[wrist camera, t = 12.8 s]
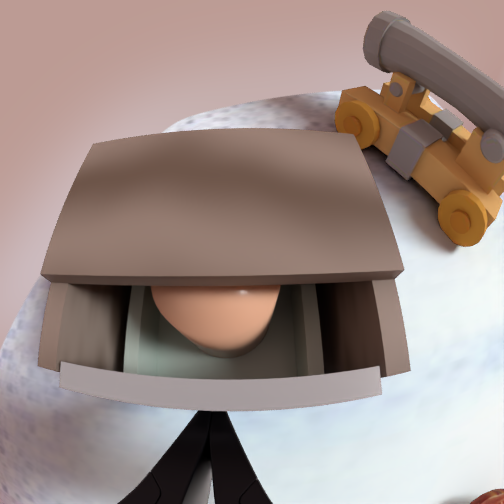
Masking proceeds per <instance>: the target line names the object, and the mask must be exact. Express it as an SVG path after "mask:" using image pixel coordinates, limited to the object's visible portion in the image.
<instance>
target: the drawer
mask: <svg viewBox="0 0 504 504" xmlns="http://www.w3.org/2000/svg"><path fill="white" fill-rule="evenodd" d="M59 387H60V388H63V389H67V390H71V391H75V392H78V393H82V394H87V395H91V396H95V397H100V398H105V399H110V400H115V401H121V402H126V403H133V404H139V405H146V406H154V407H163V408H173V409H186V410H203V411H264V410H281V409H293V408H304V407H313V406H321V405H328V404H335V403H341V402H347V401H353V400H358V399H363V398H368V397H373V396H377V395H382V389H381V377H380V367H379V366H376V367H370V368H365V369H359V370H352V371H345V372H338V373H330V374H324V363H323V351H322V341H321V331H320V321H319V312H318V303H317V295H316V287H315V284H289V285H281V286H280V290H279V294H278V297H277V301H276V304H275V308H274V311H273V315H272V318H271V322H270V325H269V328H268V331H267V333H266V336H265V337H264V339H263V340H262V342H261V343H260V344H259V345H258V346H257V347H256V348H255V349H253V350H252V351H250V352H249V353H247V354H245V355H242V356H239V357H234V358H218V357H214V356H211V355H208V354H206V353H204V352H203V351H201V350H200V349H198V348H197V347H196V346H195V345H194V344H193V343H191V342H190V341H189V340H188V339H187V338H186V337H185V336H184V335H183V334H181V333H180V332H179V331H178V330H177V329H176V328H175V327H174V326H173V325H172V324H171V323H170V322H169V321H168V320H167V319H166V318H165V317H164V316H163V315H162V314H161V312H160V311H159V309H158V307H157V306H156V304H155V301H154V298H153V296H152V291H151V286H135V285H132V289H131V297H130V304H129V312H128V321H127V331H126V341H125V354H124V371H123V372H116V371H109V370H103V369H97V368H92V367H86V366H81V365H76V364H71V363H67V362H62V361H61V366H60V382H59Z"/></svg>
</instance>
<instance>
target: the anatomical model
mask: <svg viewBox="0 0 504 504" xmlns="http://www.w3.org/2000/svg"><path fill="white" fill-rule="evenodd" d="M470 504H504V489H495V490H492V491H489V492H487V493H485V494H482V495H481V496H479V497H478V498H477V499H475V500H474V501H472V502H471V503H470Z"/></svg>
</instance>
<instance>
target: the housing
mask: <svg viewBox="0 0 504 504" xmlns="http://www.w3.org/2000/svg"><path fill="white" fill-rule="evenodd" d="M403 271H404V267H403V263H402V260H401V256H400V253H399V249H398V246H397V243H396V239H395V236H394V233H393V230H392V227H391V224H390V221H389V218H388V215H387V212H386V210H385V207H384V204H383V201H382V199H381V196H380V193H379V191H378V188H377V186H376V183H375V181H374V178H373V176H372V174H371V171H370V169H369V166H368V164H367V162H366V160H365V157H364V155H363V153H362V151H361V149H360V146H359V144H358V142H357V140H356V138H355V136H354V134H347V133H338V132H327V131H315V130H299V129H273V128H234V129H208V130H192V131H180V132H169V133H160V134H151V135H144V136H138V137H137V136H136V137H130V138H123V139H118V140H111V141H106V142H101V143H96V144H93V145H92V147H91V149H90V151H89V153H88V154H87V156H86V158H85V160H84V162H83V164H82V166H81V168H80V170H79V172H78V174H77V176H76V179H75V181H74V183H73V185H72V187H71V189H70V192H69V194H68V196H67V199H66V201H65V203H64V206H63V208H62V211H61V213H60V216H59V218H58V221H57V224H56V226H55V229H54V232H53V235H52V238H51V241H50V244H49V247H48V250H47V253H46V256H45V259H44V263H43V266H42V270H41V275H42V276H44V277H45V278H46V279H47V280H49V281H50V282H51V285H50V289H49V294H48V299H47V303H46V309H45V314H44V320H43V326H42V332H41V340H40V348H39V357H38V366H39V367H43V368H46V369H50V370H54V371H57V372H60V366H61V361H62V362H67V363H71V364H76V365H81V366H86V367H92V368H97V369H103V370H109V371H116V372H123V371H124V354H125V341H126V331H127V321H128V312H129V304H130V297H131V289H132V285H135V286H250V285H289V284H315V287H316V295H317V303H318V312H319V321H320V331H321V341H322V351H323V363H324V374H330V373H338V372H345V371H352V370H359V369H365V368H370V367H376V366H379V367H380V377H381V378H382V377H387V376H392V375H396V374H401V373H405V372H409V371H411V370H410V361H409V354H408V347H407V340H406V334H405V328H404V322H403V317H402V311H401V306H400V302H399V297H398V292H397V288H396V284H395V278H396V277H397V276H398V275H399V274H400V273H402V272H403Z"/></svg>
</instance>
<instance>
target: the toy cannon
mask: <svg viewBox="0 0 504 504" xmlns="http://www.w3.org/2000/svg"><path fill="white" fill-rule="evenodd" d="M363 51H364V56H365V59H366V60H367V62H368V63H369V64H370V65H372V66H374V67H375V68H377V69H379V70H381V71H383V72H386V73H390V72H393V75H392V78H391V81H390V82H386V83H383V87H382V90H381V93H380V95H379V94H378V93H376V92H374V91H373V90H371V89H369V88H368V87H366V86H362V87H357V88H352V89H347V90H342V93H341V98H340V102H339V106H338V108H337V110H336V112H335V125H336V129H337V131H338V133H347V134H354V136H355V138H356V140H357V142H358V144H359V146H360V149H364V148H366V147H369V146H371V145H374V146H376V147H377V148H378V149H379V150H381V151H382V152H383V153H384V154H386V155H387V156H388V157H387V159H386V161H385V162H386V163H387V164H389V165H390V166H391V167H392V168H393V169H394V170H396V171H397V172H398V173H399V174H400V175H401V176H402V177H403V178H405V179H406V180H408V179H410V178H411V177H412V178H413V179H414V180H416V181H417V182H418V183H419V184H420V185H421V186H422V187H423V188H424V189H425V190H426V191H427V192H428V193H429V194H430V195H431V196H432V197H433V198H434V199H435V200H436V201H437V202H438V203H439V204H440V206H439V208H438V220H439V224H440V227H441V229H442V230H443V231H444V232H445V234H446V235H447V236H448V237H449V238H450V239H451V240H452V242H453V243H455V244H458V245H460V246H463V247H466V246H473V245H475V244H477V243H478V242H479V241H480V240H481V238H482V237H483V235H484V233H485V231H486V229H487V228H488V227H489V226H490V224H491V223H492V222H493V221H494V220H495V219H496V216H497V214H498V212H499V209H500V207H501V204H502V199H501V198H500V195H501V194H502V193H503V192H504V88H503V87H502V86H501V85H499V84H498V83H497V82H495V81H494V80H493V79H491V78H490V77H489V76H487V75H486V74H484V73H483V72H481V71H480V70H478V69H477V68H476V67H474V66H473V65H472V64H470V63H469V62H468V61H466V60H465V59H463V58H462V57H461V56H459V55H457V54H456V53H455V52H453V51H452V50H450V49H449V48H447V47H446V46H444V45H443V44H441V43H440V42H439V41H437V40H436V39H434V38H433V37H431V36H430V35H428V34H427V33H425V32H424V31H422V30H420V29H419V28H417V27H415V26H413V25H411V23H410V21H409V20H408V19H406V18H405V17H403V16H400V15H398V14H396V13H393V12H391V11H382V12H381V13H379V14H378V15H376V16H375V17H374V18H373V19H372V21H371V22H370V24H369V25H368V28H367V30H366V33H365V36H364V43H363ZM430 91H431V92H433V93H434V94H435V95H437V96H439V97H440V98H442V99H443V100H445V101H446V102H448V103H449V104H450V105H452V106H453V107H455V108H456V109H457V110H459V111H460V112H461V113H462V114H463V115H464V116H465V117H467V118H468V119H469V120H470V121H471V122H472V123H473V124H474V125H475V126H476V127H477V128H475V129H474V130H473V132H472V134H471V133H470V132H468V131H467V130H466V129H465V128H464V127H463V126H462V125H463V122H462V121H461V120H460V119H459V118H457V117H456V116H455V115H454V114H452V113H451V112H450V111H449V110H447V109H445V110H441V109H440V108H439V107H437V106H436V105H435V104H433V103H432V102H431V101H430V99H429V97H428V95H429V93H430Z"/></svg>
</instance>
